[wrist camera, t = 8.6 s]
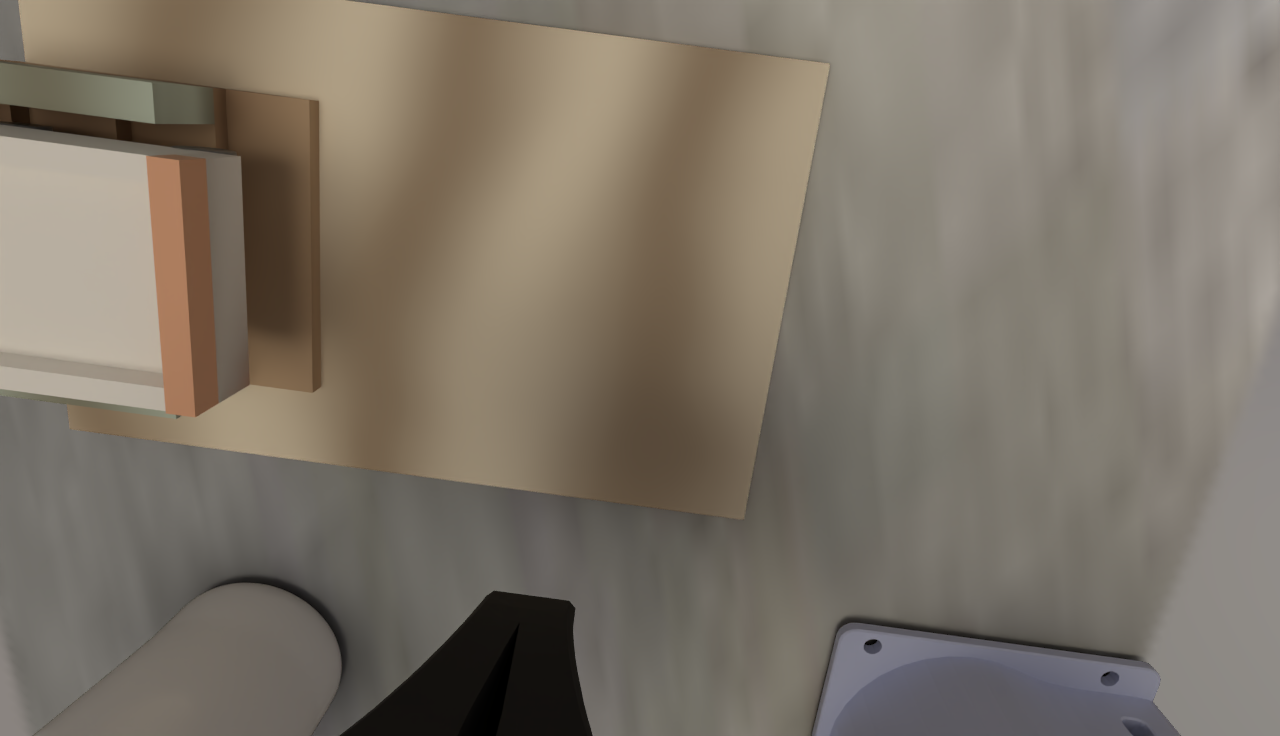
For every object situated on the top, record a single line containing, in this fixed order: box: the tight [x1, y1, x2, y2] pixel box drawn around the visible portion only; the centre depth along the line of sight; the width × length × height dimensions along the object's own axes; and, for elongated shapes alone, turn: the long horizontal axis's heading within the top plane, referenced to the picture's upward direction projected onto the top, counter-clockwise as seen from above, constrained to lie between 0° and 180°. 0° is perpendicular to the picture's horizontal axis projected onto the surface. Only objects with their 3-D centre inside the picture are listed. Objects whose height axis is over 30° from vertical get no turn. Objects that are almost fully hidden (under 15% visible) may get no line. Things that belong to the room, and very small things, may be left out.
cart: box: [0, 121, 250, 417], centre depth 16 cm, size 6×5×3 cm
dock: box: [0, 0, 830, 520], centre depth 18 cm, size 19×12×4 cm, turn 83°
